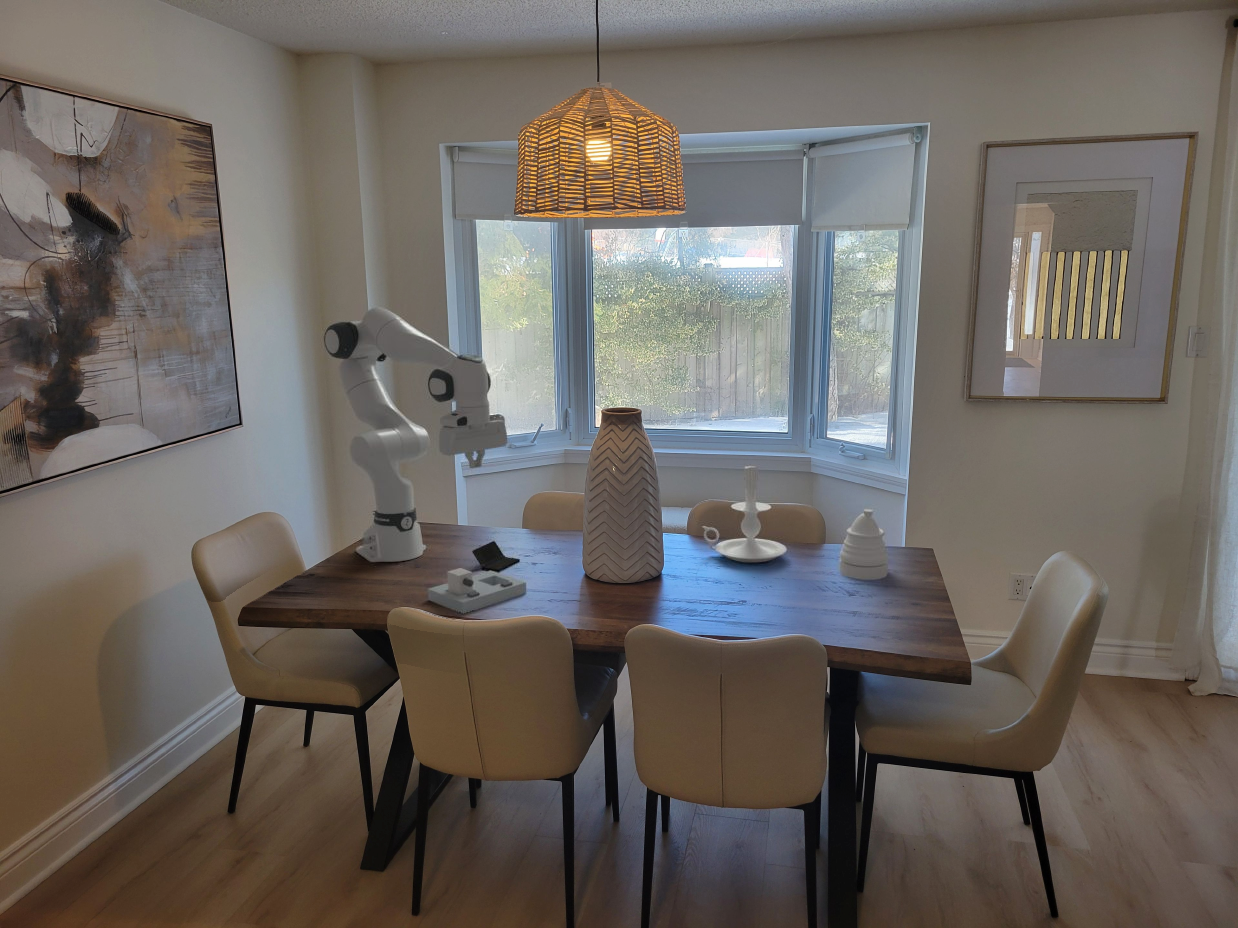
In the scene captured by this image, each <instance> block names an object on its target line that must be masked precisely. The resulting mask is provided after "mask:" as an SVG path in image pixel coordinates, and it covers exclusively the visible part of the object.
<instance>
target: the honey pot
mask: <svg viewBox="0 0 1238 928" xmlns="http://www.w3.org/2000/svg"><path fill="white" fill-rule="evenodd" d="M862 511H863V513H861V514H860V515H858V516H857V517H856V518H855V520H854V521H853V523H852V525H851V526H850V527H848V528H847V529H846V534H847V535H846V537H845V539H844V540H843V544H842V548H841V550H840V552H839V564H838V565H839V567H838V569H839V570H838V571H839V573H840V574H841V575H842V574H843V575H842V576H844V575H845V576H844V577H848V578H851V579H857V580H864V581H869V580H872V581H873V580H880V579H884V578H886V577H887V576H888V572H889V571H888V568H889V553H888V552H887V549H886V548H887V547H886V546H885V544H886V543H885V541H884V539H883V537H884V536H885V534H886V532H885V531H884V529H881V528H880V527H879V526H878V524H877V522H876V520H875V519H874V518H873V514H874V509H870V508H869V509H868V508H865V509H863V510H862Z"/></svg>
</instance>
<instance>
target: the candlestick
mask: <svg viewBox="0 0 1238 928" xmlns="http://www.w3.org/2000/svg"><path fill="white" fill-rule="evenodd" d="M748 464H749V466H744V478H743V479H744V480H745V481H744V482H745V483H744V484H745V486H744V499H745V501H742V502H735V503H733V504H731V506H730V507H731V508H732V509H734V510H736V511H740V512H743V513H744V517H743V519H742V521H741V523H740V529H741V532H742V533H743V534H744V535H745V537H743V538H733V539H726V540H722V541H720V542H719V543H717V544H716V545H715V546H713V544H714V543H716V542H717V541H719V537H720V533H719V531H718V529H716V528H714V527H708V526H705V525H704V526H701V528H702V529H704V532H703V538H704V540H705V541H706V542H707V543H708V546H709V548H710V549H712V550H715V551H716V552H717V553H718V554H721V555H723V556H724V557H726V558H728V559H730V560H732V561H733V560H734V561H736V562H740V563H751V564H752V563H756V564H757V563H763V562H764V563H765V562H769V561H772V560H774V559H776V558H777V557H780V556H782V555H784V554H785V553H786V552H787V547H786V546H785V545H784V544H782V543H780V542H778V541H774V540H770V539H762V538H755V537H756V536H758V535H759V533H760V532H761V529H762V528H761V527H762V526H761V522H760V519H759V518H758V514H759V513H761V512H766V511H768V510H770V509H772V505H770V504H767V503H764V502H759V501H758V502H757V491H758V475H759V474H758V472H759V471H758V469H759V466H752V465H750V463H748ZM709 531H712V532H714V533H715V535H716V537H715V538H714V539H713V540H712V539H709V538H708V536H707V533H708V532H709Z"/></svg>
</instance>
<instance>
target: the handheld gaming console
mask: <svg viewBox="0 0 1238 928" xmlns="http://www.w3.org/2000/svg"><path fill="white" fill-rule="evenodd" d="M471 552H472V554H473V556H474V557H475V558H476V561H478V563H479V565H480V566H481V570H482V571H488V570H489V571H490V570H491V571H494V572H497V573H500V572H503V571H504V570H506V569H508V568H510V567H513V566H514V565H516V564H518V563H520V562H521V559H520V558H513V557H509V556H508V557H507V556H505V555H504V553H503V551H502V550H501V549H500V547H499V545H498V544H497V543H496V541H494V540H493V541H490V542H488V543H486V544H484V545H481V546H479V547H477V548H475V549H473V550H472V551H471Z"/></svg>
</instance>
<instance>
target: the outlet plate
mask: <svg viewBox="0 0 1238 928" xmlns="http://www.w3.org/2000/svg"><path fill="white" fill-rule="evenodd" d="M472 580H473V582H474V583H473V592H470V593H467V594H465V595H462V596H457V595H454V594H452V593H449V592H448V582H447V583H443V584H441V585H440V584H439V585H437V586H433V587H430V588H428V589H427V592H428V594H427V595H428V601H431V602H433V603H435V604H437V605H440V606H442V607H445V608H447V609H449V608H450V610H453V611H454V610H456V611H455V612H457V611H458V613H459V612H461V613H460V614H462V613H463V614H462V615H465V614H467V613H466V612H468V613H471V612H473V611H472V610H474V611H478V610H480V609H483V608H486V607H488V606H489V607H490V606H491V605H495V604H498V603H502V602H505V601H507V600H511V599H513V598H516V597H519V596H523V595H525V594H527V582H526V581H524V580H520V579H517V578H514V577H511V576H508V575H505V574H502V573H500V572H495V571H491V570H490V571H488V570H486V571H484V572H481V573H476V574H475V575H473V574H472ZM479 608H480V609H479ZM470 611H471V612H470ZM464 613H465V614H464Z"/></svg>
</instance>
